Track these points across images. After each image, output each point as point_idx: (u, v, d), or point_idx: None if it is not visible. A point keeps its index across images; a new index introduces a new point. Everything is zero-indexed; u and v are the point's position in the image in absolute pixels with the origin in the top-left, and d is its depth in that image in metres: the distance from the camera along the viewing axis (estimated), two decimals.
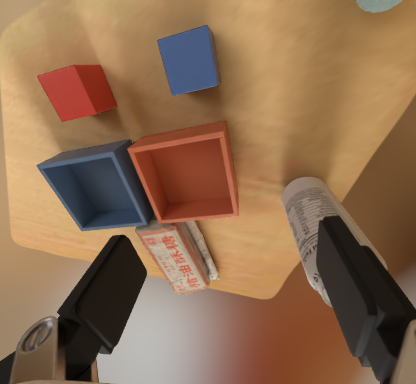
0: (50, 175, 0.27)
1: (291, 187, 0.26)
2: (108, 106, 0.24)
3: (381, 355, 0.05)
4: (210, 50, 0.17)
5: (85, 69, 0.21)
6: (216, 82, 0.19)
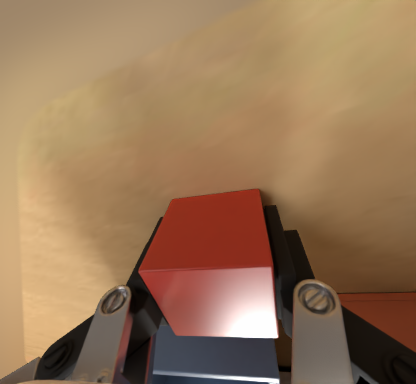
0: None
1: None
2: None
3: (283, 311, 0.07)
4: None
5: None
6: None
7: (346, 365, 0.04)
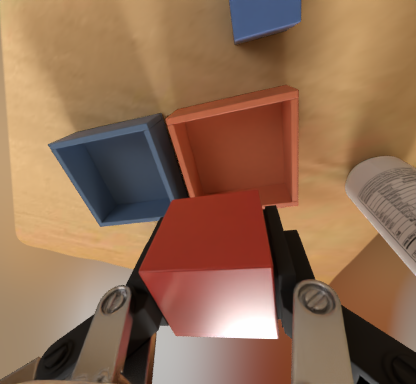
0: (64, 157, 0.22)
1: (363, 169, 0.21)
2: None
3: (283, 311, 0.07)
4: None
5: None
6: (299, 16, 0.14)
7: (346, 365, 0.04)
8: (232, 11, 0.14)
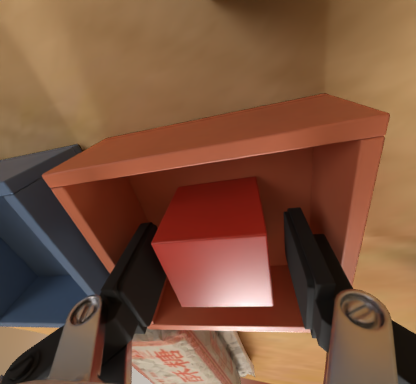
0: None
1: None
2: None
3: (319, 322, 0.06)
4: None
5: None
6: None
7: None
8: None
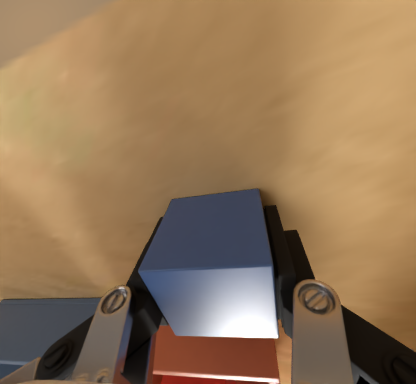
0: None
1: None
2: None
3: (283, 311, 0.07)
4: (272, 299, 0.07)
5: (227, 379, 0.14)
6: (276, 334, 0.08)
7: (346, 365, 0.04)
8: (166, 316, 0.08)
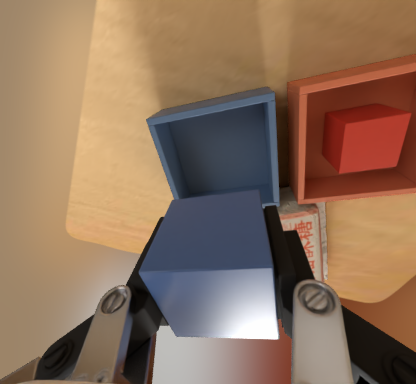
0: (159, 135, 0.19)
1: None
2: None
3: (283, 311, 0.07)
4: (272, 300, 0.07)
5: None
6: (277, 334, 0.08)
7: (346, 365, 0.04)
8: (166, 317, 0.08)
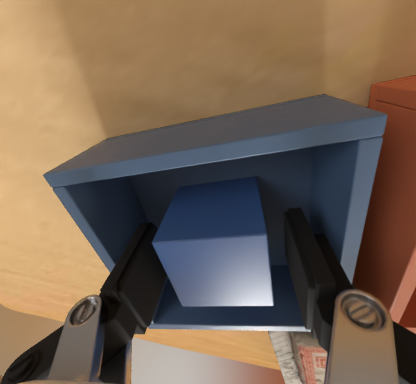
0: (86, 204, 0.09)
1: None
2: None
3: (319, 322, 0.06)
4: (267, 266, 0.08)
5: None
6: (272, 301, 0.09)
7: None
8: (175, 287, 0.10)
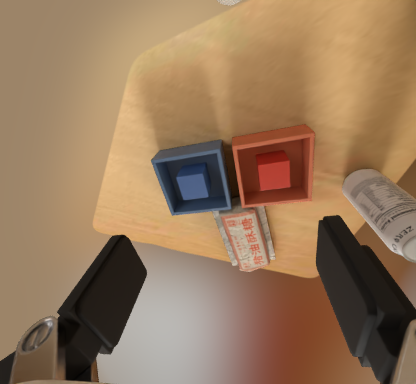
0: (158, 168, 0.34)
1: (354, 177, 0.33)
2: None
3: (381, 355, 0.05)
4: (204, 183, 0.33)
5: None
6: (207, 195, 0.34)
7: None
8: (181, 192, 0.34)
